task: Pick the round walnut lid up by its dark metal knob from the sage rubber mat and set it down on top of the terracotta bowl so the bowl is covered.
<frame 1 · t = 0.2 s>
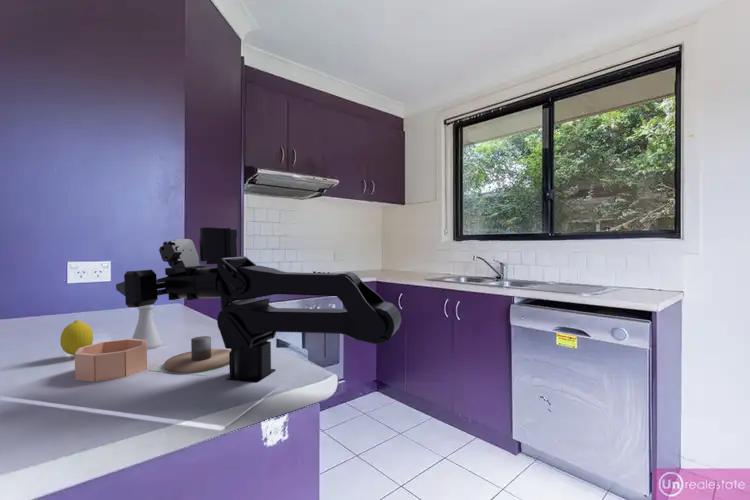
hand: (138, 284, 73), 16 cm above the counter, tool horizontal, fingers open, 9 cm apart
lemon: (77, 358, 80), on the counter
bowl: (113, 372, 70), on the counter
lid: (201, 362, 74), resting on mat
flask: (146, 349, 86), on the counter
mat: (201, 364, 74), on the counter
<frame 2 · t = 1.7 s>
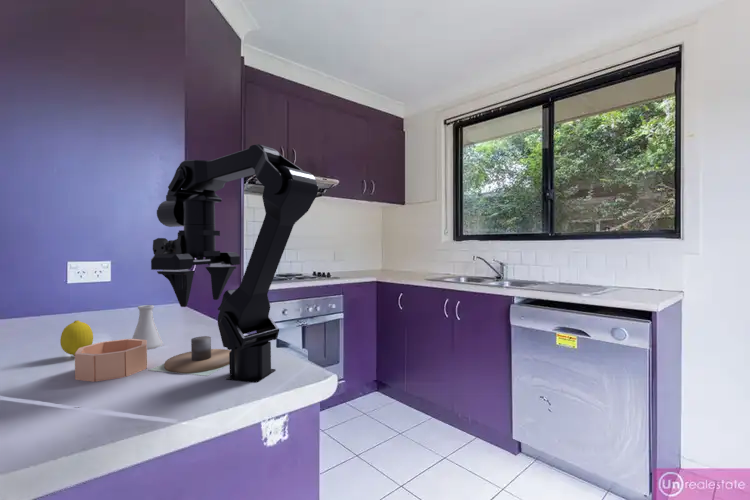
hand: (200, 303, 74), 12 cm above the counter, tool pointing down, fingers open, 9 cm apart
nothing on the counter moved.
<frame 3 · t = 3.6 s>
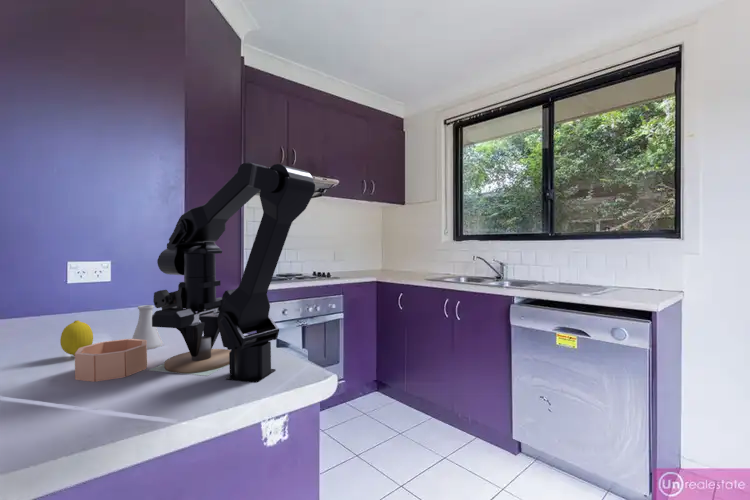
hand: (201, 353, 74), 2 cm above the counter, tool pointing down, fingers closed on lid, 4 cm apart
lid: (201, 361, 74), resting on mat, touching gripper
everything else where it was.
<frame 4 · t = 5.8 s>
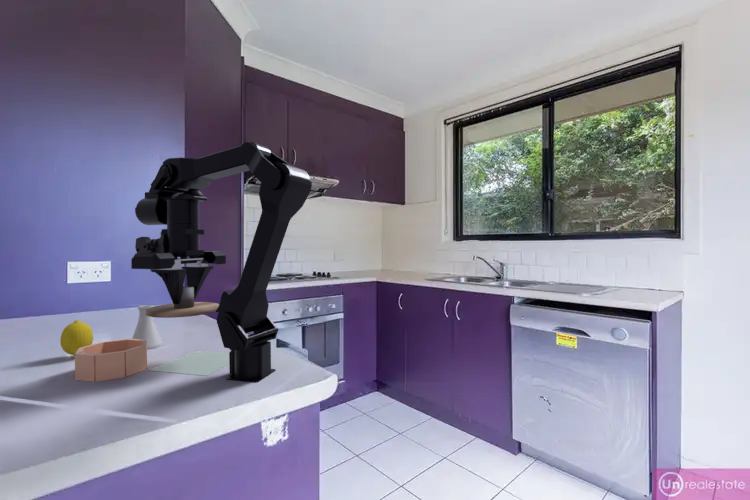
hand: (184, 302, 73), 13 cm above the counter, tool pointing down, fingers closed on lid, 4 cm apart
lid: (184, 311, 74), point 11 cm above the counter, touching gripper
everything else where it was.
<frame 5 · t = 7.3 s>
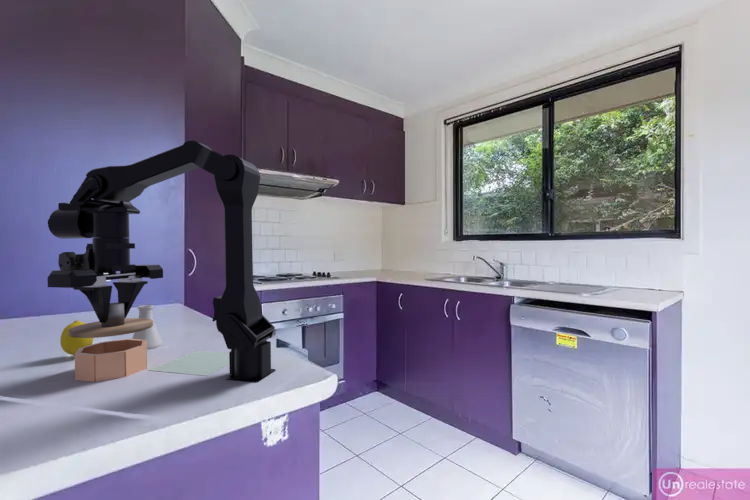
hand: (113, 320, 70), 10 cm above the counter, tool pointing down, fingers closed on lid, 4 cm apart
lid: (113, 329, 70), point 8 cm above the counter, touching gripper
everything else where it was.
when the fingers open (8 cm above the counter, at t = 8.3 s): lid drops 1 cm, resting on bowl.
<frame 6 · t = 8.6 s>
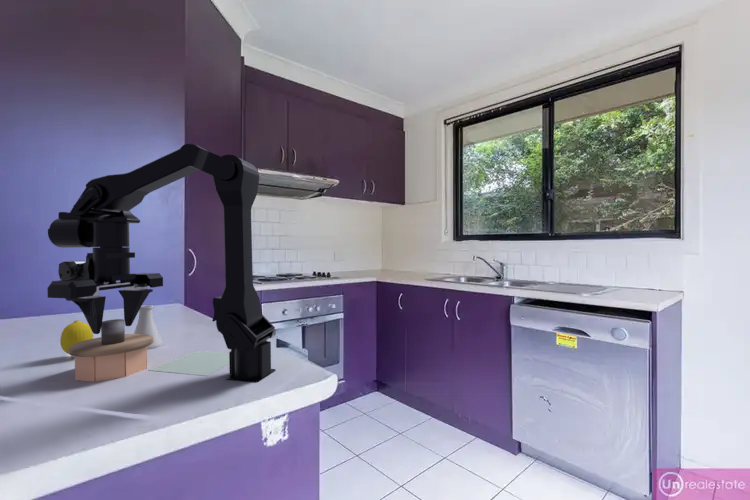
hand: (113, 329, 70), 8 cm above the counter, tool pointing down, fingers open, 6 cm apart
lid: (113, 346, 70), point 5 cm above the counter, touching bowl
everything else where it was.
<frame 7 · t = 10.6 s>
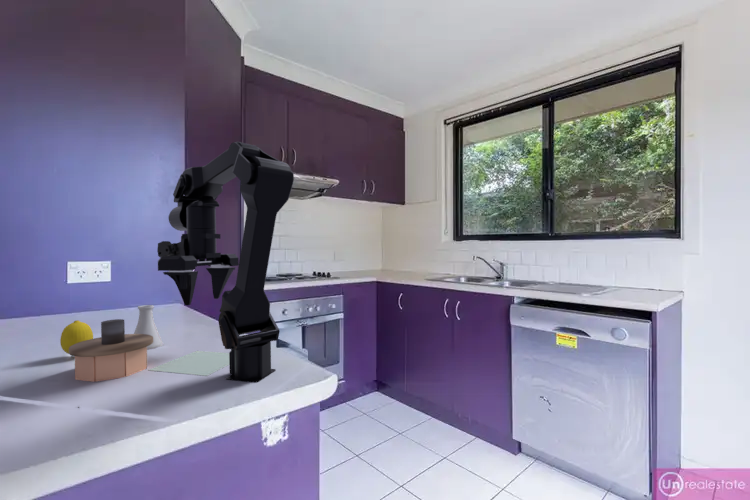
hand: (202, 301, 79), 12 cm above the counter, tool pointing down, fingers open, 9 cm apart
nothing on the counter moved.
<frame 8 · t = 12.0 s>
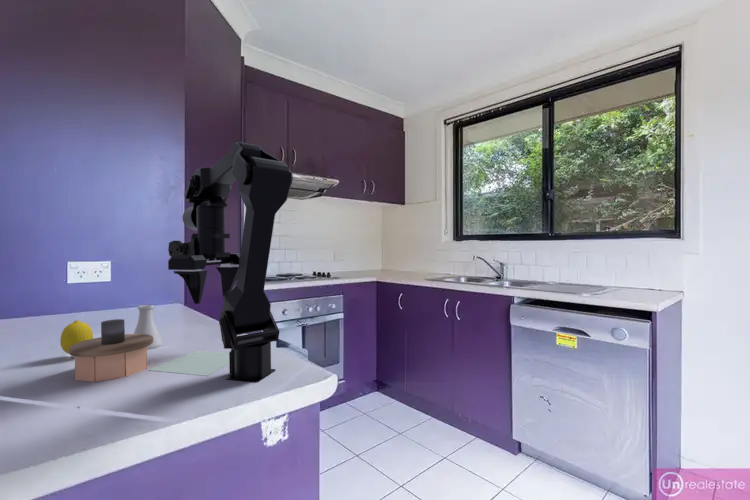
hand: (212, 300, 81), 12 cm above the counter, tool pointing down, fingers open, 9 cm apart
nothing on the counter moved.
at the end: lid 0.0 cm off-centre on the bowl, point 5.0 cm above the bowl's base; lid tilted 0°; the gripper is holding nothing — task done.
